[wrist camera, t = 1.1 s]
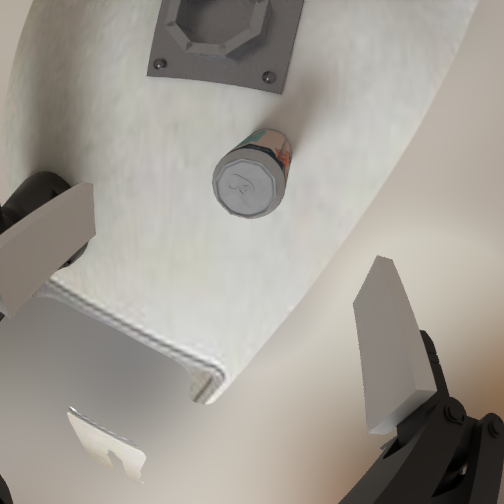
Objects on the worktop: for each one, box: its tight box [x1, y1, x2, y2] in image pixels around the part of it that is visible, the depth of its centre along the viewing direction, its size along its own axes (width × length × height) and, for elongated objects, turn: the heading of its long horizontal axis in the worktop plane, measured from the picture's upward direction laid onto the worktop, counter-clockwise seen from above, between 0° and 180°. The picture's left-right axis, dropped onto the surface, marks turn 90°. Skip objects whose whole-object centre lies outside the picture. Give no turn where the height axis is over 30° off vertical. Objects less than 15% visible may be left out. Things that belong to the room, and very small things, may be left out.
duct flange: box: [147, 0, 304, 94], centre depth 20 cm, size 14×14×4 cm
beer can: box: [212, 129, 292, 219], centre depth 23 cm, size 5×5×12 cm
